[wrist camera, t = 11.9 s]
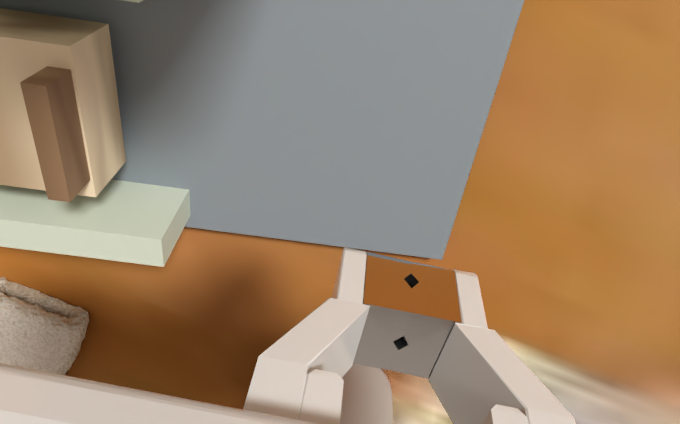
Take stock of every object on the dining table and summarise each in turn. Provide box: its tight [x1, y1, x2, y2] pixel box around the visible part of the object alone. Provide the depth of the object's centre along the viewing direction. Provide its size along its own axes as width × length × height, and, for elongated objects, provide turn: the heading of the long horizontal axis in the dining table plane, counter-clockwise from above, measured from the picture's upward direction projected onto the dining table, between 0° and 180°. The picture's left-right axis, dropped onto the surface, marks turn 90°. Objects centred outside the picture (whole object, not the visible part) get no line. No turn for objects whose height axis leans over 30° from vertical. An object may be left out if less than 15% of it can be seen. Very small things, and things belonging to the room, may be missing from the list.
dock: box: [0, 0, 524, 267], centre depth 20 cm, size 24×14×5 cm, turn 83°
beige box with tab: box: [0, 8, 126, 202], centre depth 19 cm, size 7×6×6 cm
